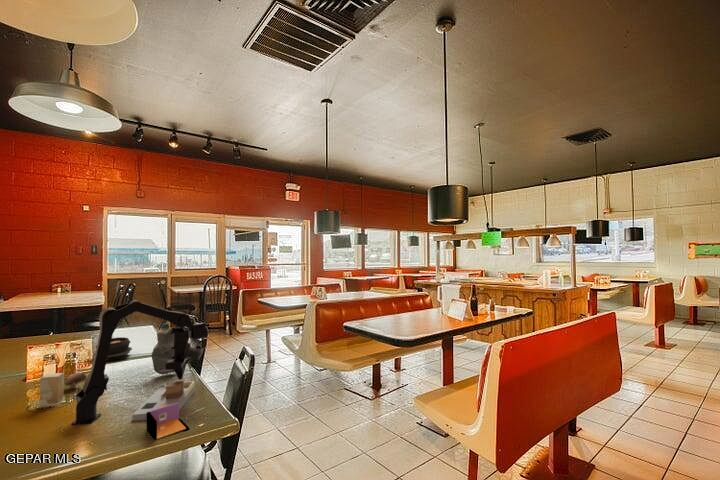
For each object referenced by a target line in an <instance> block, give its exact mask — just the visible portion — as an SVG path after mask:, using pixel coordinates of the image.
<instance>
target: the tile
mask: <svg viewBox="0 0 720 480" xmlns="http://www.w3.org/2000/svg"><path fill="white" fill-rule="evenodd" d="M172 404H175V403H172ZM168 405H171V404H161V405H160V406H159V407H158V408H161V407H165V406H168ZM158 408H157V409H158Z"/></svg>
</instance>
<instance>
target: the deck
mask: <svg viewBox="0 0 720 480" xmlns="http://www.w3.org/2000/svg"><path fill="white" fill-rule="evenodd" d="M195 387H196V386H195V381H193V380H192V381H184V393H183V394H182V396H181V397H180V398H175V399H166V387H159V388H157V390H156V391H155V392H154V393H153V394H152V395H151V396H150V397H149V398H148V399H146V401H144V403H143V404H142V405H141V406H139V408H137V409H136V410H135V412H134V413H132V415H131V419H132V420H131V421H147V412H149V411H151V410H155V409H157V408H158V407H159V406H160V405H161V404H172V403H179V412H180V411H181V410H182V409H183V407H184V406H185V405H186V403H187V402H188V400H189V399H190V397H192V395H193V394H194V393H195V391H196V390H195ZM162 418H165V414H163V415H160V419H162Z"/></svg>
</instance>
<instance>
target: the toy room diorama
mask: <svg viewBox="0 0 720 480" xmlns="http://www.w3.org/2000/svg"><path fill="white" fill-rule="evenodd" d="M163 414H165V418H162V419H160V415H163ZM146 431H147V432H148V434H149V435H150V436H151V438H152V439H153V440H154V441H157V440H161V439H164V438H167V437H170V436H174V435H176V434H179V433H185V432H188V431H190V427H189V426H188V425H187V424H186V423H185V421H183V419H181V418H180V411H179V403H175V404H171V405H168V406H165V407H161V408H158V409H155V410H151V411H149V412H147V420H146Z"/></svg>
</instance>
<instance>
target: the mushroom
mask: <svg viewBox="0 0 720 480" xmlns="http://www.w3.org/2000/svg"><path fill="white" fill-rule="evenodd" d="M86 379H87V375H86V374H85V373H83V372H75V373H72V374H70V375H68V376H67V377H66V378H65V379H64V386H70V387H69V389H70V390H73V389H76V388H77V387H78V386H79V384H82V383H85V381H86Z"/></svg>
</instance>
